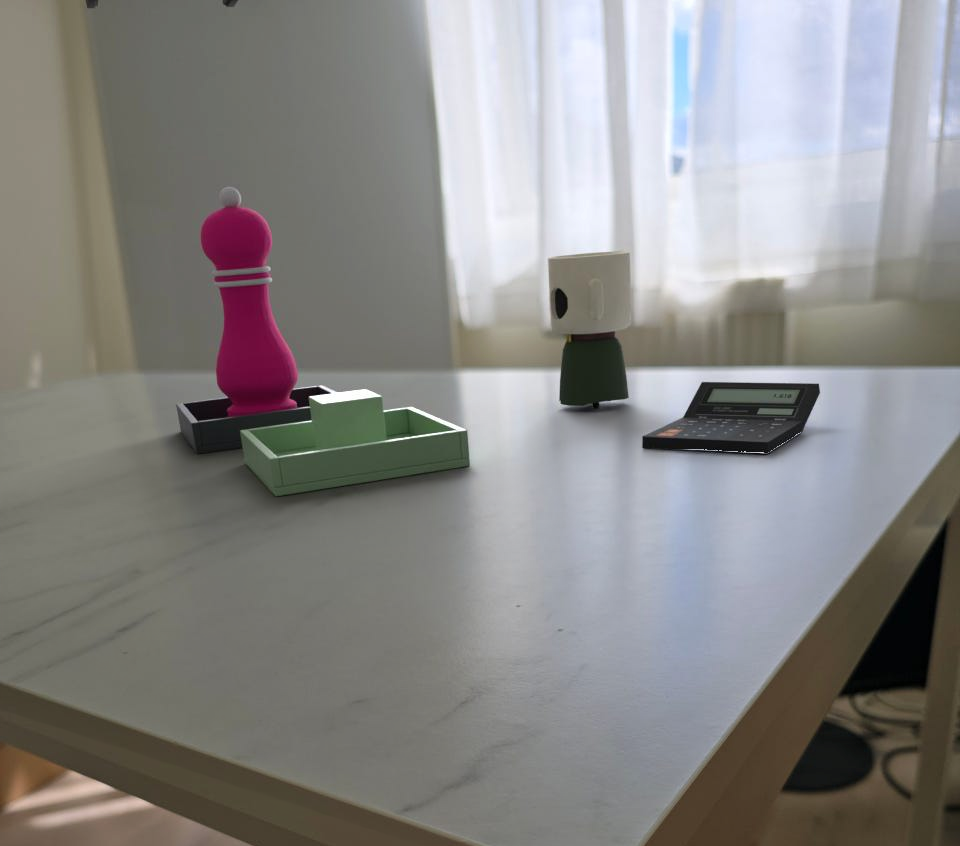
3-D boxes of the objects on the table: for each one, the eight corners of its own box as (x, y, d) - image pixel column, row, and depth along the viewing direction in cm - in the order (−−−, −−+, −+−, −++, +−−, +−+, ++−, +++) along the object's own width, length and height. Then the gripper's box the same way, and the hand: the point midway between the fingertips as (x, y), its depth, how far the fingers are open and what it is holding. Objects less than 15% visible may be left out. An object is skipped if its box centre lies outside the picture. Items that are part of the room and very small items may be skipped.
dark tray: (196, 454, 86) (191, 423, 85) (180, 431, 97) (175, 403, 96) (359, 430, 90) (356, 401, 89) (325, 411, 102) (322, 385, 101)
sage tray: (275, 496, 69) (269, 458, 68) (245, 462, 81) (239, 430, 80) (470, 465, 74) (467, 430, 73) (415, 438, 85) (412, 406, 84)
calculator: (642, 448, 75) (641, 406, 74) (703, 418, 84) (703, 381, 83) (767, 454, 70) (768, 410, 69) (818, 422, 79) (820, 382, 78)
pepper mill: (244, 418, 98) (208, 191, 90) (315, 415, 96) (284, 184, 89) (211, 433, 91) (169, 189, 84) (286, 430, 90) (250, 182, 82)
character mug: (550, 400, 98) (543, 256, 93) (624, 394, 98) (621, 249, 93) (559, 420, 88) (552, 259, 83) (642, 413, 88) (639, 252, 83)
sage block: (329, 466, 74) (321, 403, 73) (316, 455, 78) (308, 396, 77) (388, 457, 76) (382, 395, 74) (372, 447, 80) (365, 389, 78)
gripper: (238, -266, 72) (274, 13, 79) (-27, -285, 67) (35, 16, 73) (255, -319, 66) (293, -9, 72) (-37, -344, 60) (33, -8, 67)
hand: (163, 3), depth 73 cm, fingers open, 9 cm apart
